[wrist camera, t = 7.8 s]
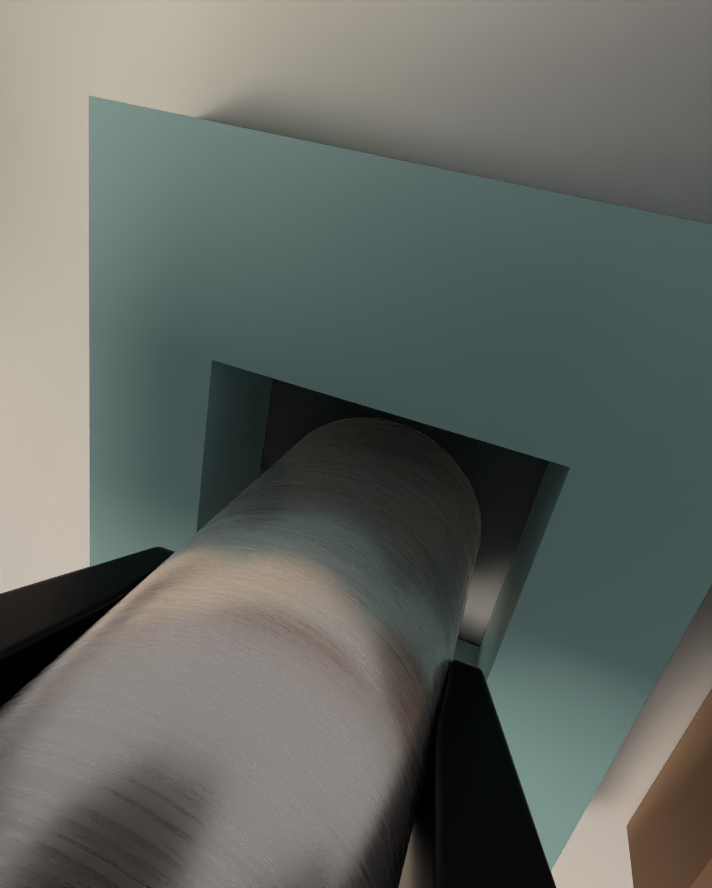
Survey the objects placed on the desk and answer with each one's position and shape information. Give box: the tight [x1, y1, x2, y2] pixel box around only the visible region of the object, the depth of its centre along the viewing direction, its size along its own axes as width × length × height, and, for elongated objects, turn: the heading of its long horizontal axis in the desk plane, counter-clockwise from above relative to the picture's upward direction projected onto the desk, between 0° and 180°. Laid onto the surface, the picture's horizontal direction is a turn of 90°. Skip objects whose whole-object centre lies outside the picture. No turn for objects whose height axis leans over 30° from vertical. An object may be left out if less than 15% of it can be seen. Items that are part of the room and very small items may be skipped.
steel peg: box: [0, 417, 481, 888], centre depth 7 cm, size 4×4×8 cm
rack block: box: [89, 96, 712, 871], centre depth 11 cm, size 10×12×2 cm
